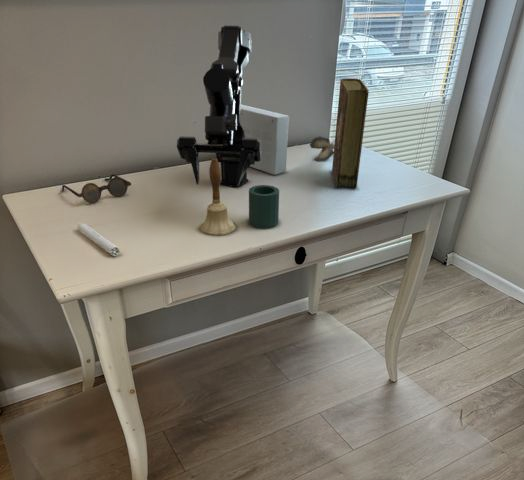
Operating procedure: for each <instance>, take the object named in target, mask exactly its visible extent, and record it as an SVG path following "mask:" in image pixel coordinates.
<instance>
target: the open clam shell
mask: <svg viewBox="0 0 524 480" xmlns="http://www.w3.org/2000/svg"><path fill="white" fill-rule="evenodd" d="M334 144H335V139H333V140H332V141H330V139H329V137H323V136H316V137H314V138H313V139H311V141H310V143H309V147H310V148H311V149H316V150H320V149H321V150H320V151H319V152H318V155H317V156H316V157H314V160H315V161H316V162H325V161H327V160H329V159H330V157H332V155H334Z"/></svg>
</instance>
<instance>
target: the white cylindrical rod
mask: <svg viewBox="0 0 524 480" xmlns="http://www.w3.org/2000/svg"><path fill="white" fill-rule="evenodd" d="M77 229H78V231H79V232H80V233H82V234H83V235H84V236H85V237H87V238H88V239H89V240H91V241H92V242H93V243H95V245H97V246H98V247H100V248H102V249H103V250H104V251H105V252H107V253H108V254H109V255H111V256H113V257H117V256H118V255H119V253H120V248H119V247H118V246H116V245H115V244H114V243H112V242H111V241H110V240H108V239H107V238H106V237H104V236H102V235H101V234H100V233H98V232H97V231H96V230H95V229H93V228H92V227H90V226H89V225H88V224H86V223H84V222H79V223H78V224H77Z"/></svg>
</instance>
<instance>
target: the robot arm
mask: <svg viewBox="0 0 524 480" xmlns="http://www.w3.org/2000/svg"><path fill="white" fill-rule="evenodd" d="M217 34H218V35H217V43H218V44H217V49H218V50H219V51H218V57H217V59H216V60H214V61H213V62H212V63H211V65H210V68H209V70H207V71H206V72H205V73H204V75H203V78H202V81H203V86H204V90H205V95H206V99H207V102H208V104H209V115H205V116H204V133H205V140H206V141H207V143H206V142H205V143H203V142H202V143H201V142H197V139H196V136H185V135H183V136H181V135H180V136H179V137H178V139H176V140H177V141H176V149H177V151H178V154H179V156H180V159H182V160H185V162H186V163H187V164H188V163H189V164H191V169H192V172H193V176H194V180H195V184H196V185H199V184H200V160H199V153H203V154H206V153H207V154H215V158H217V160H218V163H220V170H221V181H220V185H223V186H228V187H233V188H239V187H241V186H242V185H244V184H246V183H248V182H249V179H248V177H247V174H248V172H247V171H248V170H249V168H250V165H254V164H255V162H259V161H261V146H260V141H259V139H257V138H245V134H244V130H243V128H242V126H241V125H240V118H241V105H242V92H243V91H242V90H243V89H242V88H243V85H244V78H243V71H244V70H245V68H246V67H247V65H248V64H249V60H250V54H251V53H252V48H253V47H252V46H253V43H252V42H253V41H252V35H251V33H250V32H248V31H247V30H245V29H243V28H242V26H240V25H229V24H228V25H225V24H224V25H223V26H221V29H220V30H219V31H218V33H217Z"/></svg>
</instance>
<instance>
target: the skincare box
mask: <svg viewBox="0 0 524 480" xmlns="http://www.w3.org/2000/svg"><path fill="white" fill-rule="evenodd" d="M289 122H290V115H287V114H283V113H280V112H274V111H270V110H267V109H262V108H258V107H253V106H249V105H244V104H241V118H240V125H241V126H242V128H243V130H244V134H245V138H257V139H259V141H260V146H261V161H259V162H255V164H254V165H250V166H249V168H253V169H256V170H259V171H262V172H265V173H268V174H271V175H274V176H276V175H279V174H283V173H286V172H287V160H288V159H287V158H288V140H289V124H290V123H289Z"/></svg>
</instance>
